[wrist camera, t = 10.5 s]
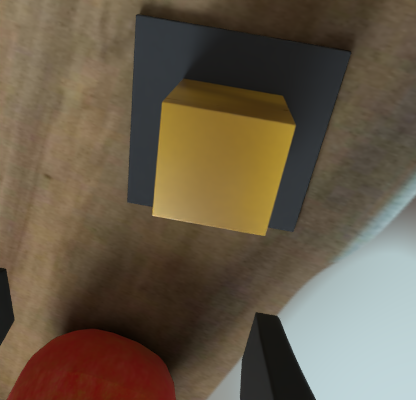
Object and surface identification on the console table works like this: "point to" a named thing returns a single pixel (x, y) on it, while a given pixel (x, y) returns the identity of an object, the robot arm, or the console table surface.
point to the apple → (94, 370)
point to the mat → (239, 78)
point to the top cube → (221, 156)
